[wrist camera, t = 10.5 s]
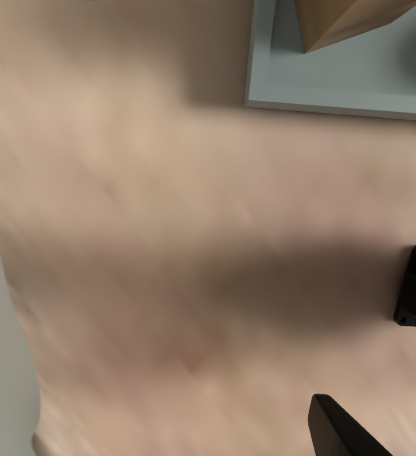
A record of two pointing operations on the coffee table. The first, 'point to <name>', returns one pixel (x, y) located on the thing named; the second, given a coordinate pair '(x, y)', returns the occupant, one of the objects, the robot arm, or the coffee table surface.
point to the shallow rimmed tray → (331, 67)
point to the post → (344, 19)
